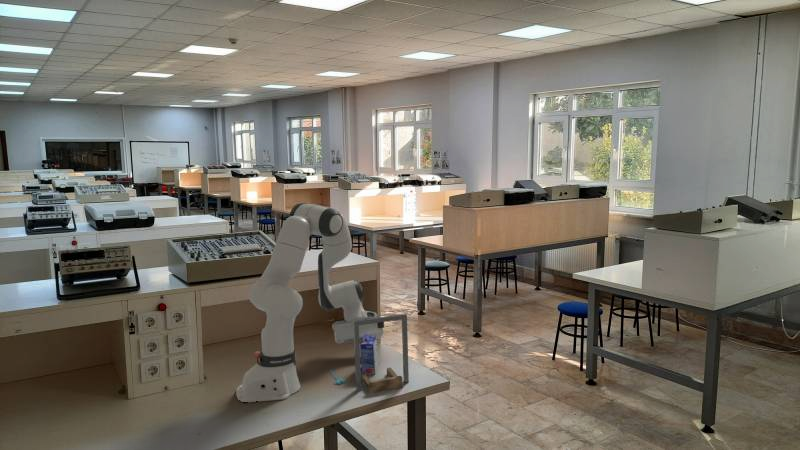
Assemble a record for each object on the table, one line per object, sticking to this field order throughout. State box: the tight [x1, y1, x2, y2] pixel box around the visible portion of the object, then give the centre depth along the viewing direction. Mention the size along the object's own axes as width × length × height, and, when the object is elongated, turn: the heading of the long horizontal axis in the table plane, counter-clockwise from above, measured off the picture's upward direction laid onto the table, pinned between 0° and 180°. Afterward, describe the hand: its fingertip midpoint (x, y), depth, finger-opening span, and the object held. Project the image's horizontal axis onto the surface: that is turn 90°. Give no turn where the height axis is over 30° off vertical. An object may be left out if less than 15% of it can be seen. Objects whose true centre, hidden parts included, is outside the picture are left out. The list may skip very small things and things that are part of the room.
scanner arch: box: [353, 313, 410, 392], centre depth 199 cm, size 20×2×26 cm, turn 109°
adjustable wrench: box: [328, 369, 347, 386], centre depth 209 cm, size 14×1×5 cm
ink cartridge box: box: [359, 332, 380, 375], centre depth 215 cm, size 10×6×14 cm, turn 174°
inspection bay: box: [361, 367, 403, 395], centre depth 202 cm, size 12×14×4 cm
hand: (362, 349), depth 225 cm, fingers closed
